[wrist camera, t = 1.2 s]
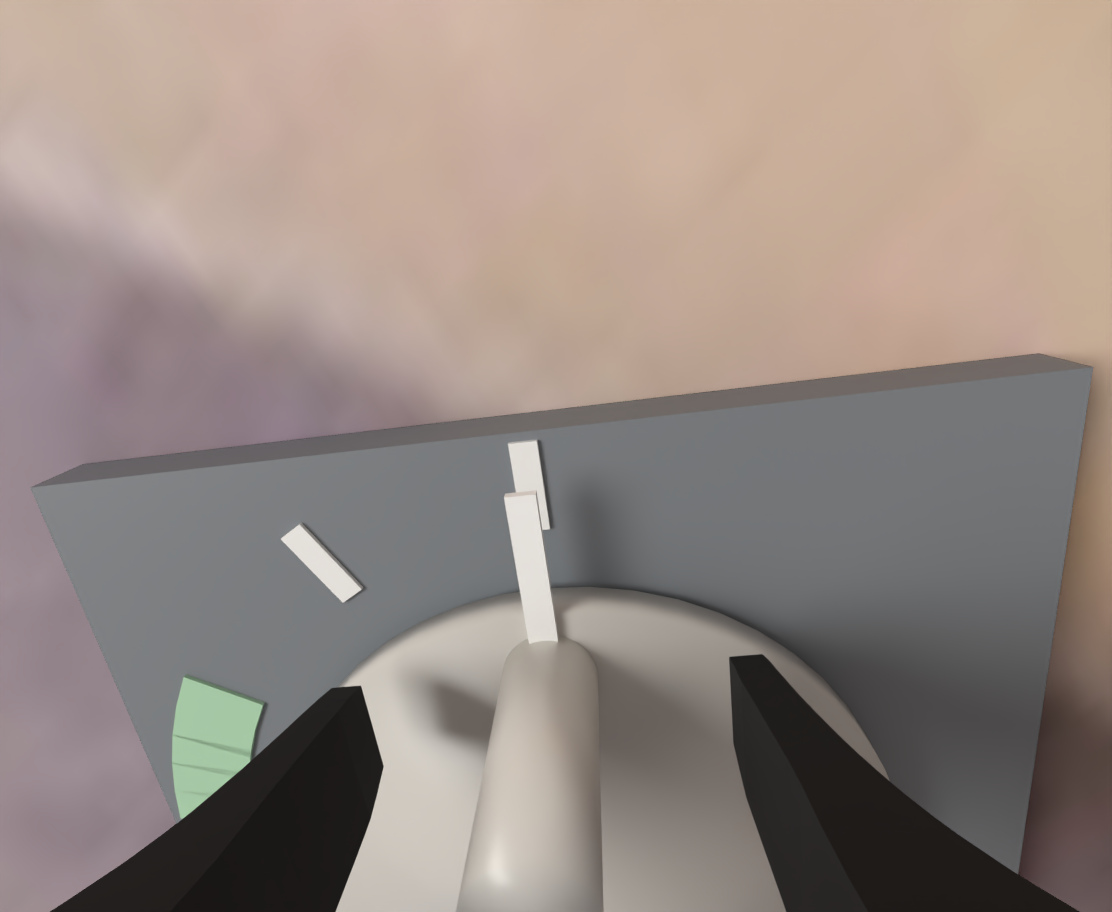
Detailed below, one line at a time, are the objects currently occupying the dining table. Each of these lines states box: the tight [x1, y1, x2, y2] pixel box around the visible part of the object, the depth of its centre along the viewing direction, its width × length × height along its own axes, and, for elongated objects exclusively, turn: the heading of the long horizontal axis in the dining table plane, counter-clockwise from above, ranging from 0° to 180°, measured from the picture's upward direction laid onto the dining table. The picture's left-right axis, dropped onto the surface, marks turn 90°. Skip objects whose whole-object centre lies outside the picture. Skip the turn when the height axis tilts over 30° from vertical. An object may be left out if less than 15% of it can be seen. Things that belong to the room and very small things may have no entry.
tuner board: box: [30, 354, 1093, 874], centre depth 17 cm, size 22×22×2 cm
